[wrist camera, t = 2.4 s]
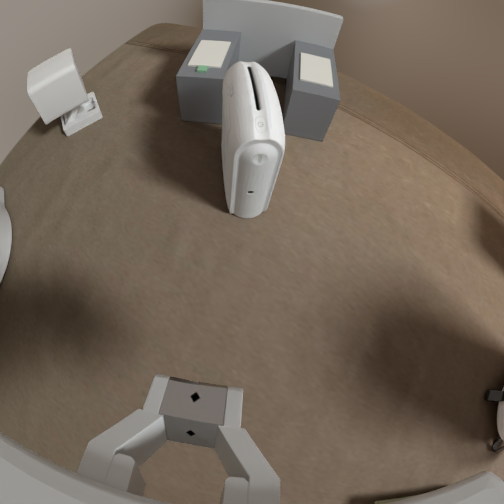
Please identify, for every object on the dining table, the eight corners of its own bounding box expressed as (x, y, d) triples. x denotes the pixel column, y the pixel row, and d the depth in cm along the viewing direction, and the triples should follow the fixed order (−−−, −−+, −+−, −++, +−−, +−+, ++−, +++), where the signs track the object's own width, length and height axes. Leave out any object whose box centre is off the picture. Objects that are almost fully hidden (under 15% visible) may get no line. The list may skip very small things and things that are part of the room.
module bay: (181, 120, 32) (171, 37, 21) (205, 63, 36) (205, -5, 25) (322, 141, 33) (355, 64, 21) (320, 81, 37) (342, 16, 26)
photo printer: (270, 218, 29) (299, 134, 17) (226, 221, 28) (229, 135, 17) (257, 138, 32) (272, 50, 20) (219, 140, 31) (221, 49, 20)
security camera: (53, 118, 31) (27, 69, 22) (95, 95, 33) (76, 42, 24) (57, 145, 30) (26, 92, 20) (103, 119, 32) (81, 61, 22)
